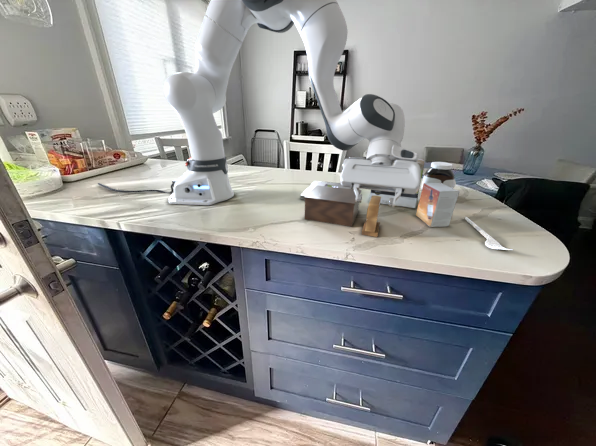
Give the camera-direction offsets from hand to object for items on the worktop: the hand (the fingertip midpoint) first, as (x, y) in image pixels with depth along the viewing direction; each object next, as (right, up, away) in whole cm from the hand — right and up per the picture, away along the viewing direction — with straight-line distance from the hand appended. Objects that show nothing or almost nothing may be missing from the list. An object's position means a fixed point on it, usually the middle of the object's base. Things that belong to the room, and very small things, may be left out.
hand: (374, 203), depth 63 cm
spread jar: (+34, +6, +31) cm, 47 cm away
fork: (+28, -8, 0) cm, 29 cm away
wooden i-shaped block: (0, -7, +3) cm, 8 cm away
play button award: (-8, +6, +31) cm, 33 cm away
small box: (+19, -5, +8) cm, 22 cm away
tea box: (+14, +3, +23) cm, 27 cm away
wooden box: (-9, -3, +12) cm, 15 cm away
